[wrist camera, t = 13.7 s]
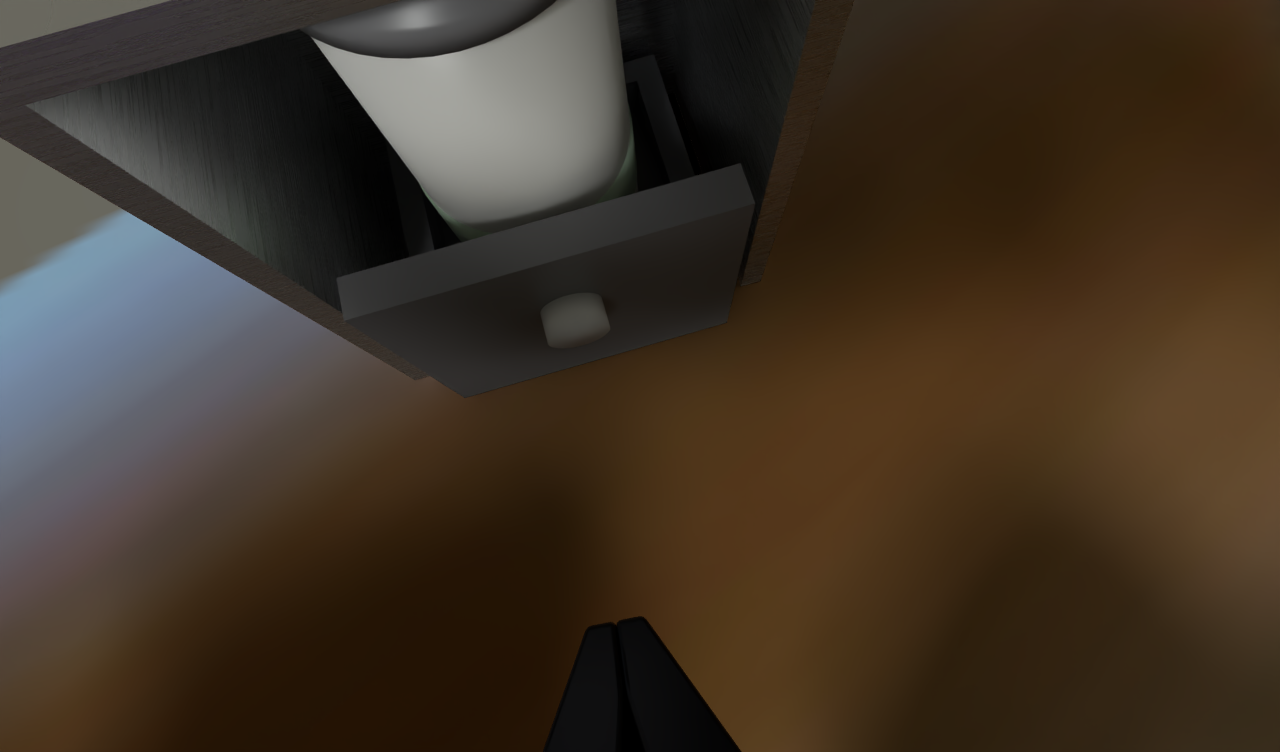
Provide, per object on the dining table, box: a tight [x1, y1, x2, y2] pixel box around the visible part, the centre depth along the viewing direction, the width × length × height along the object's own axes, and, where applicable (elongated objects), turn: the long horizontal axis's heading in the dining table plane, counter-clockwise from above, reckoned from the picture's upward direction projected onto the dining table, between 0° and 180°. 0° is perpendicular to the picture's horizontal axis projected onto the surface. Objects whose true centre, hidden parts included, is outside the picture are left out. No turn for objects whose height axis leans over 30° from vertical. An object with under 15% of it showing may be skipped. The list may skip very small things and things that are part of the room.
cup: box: [299, 0, 638, 242], centre depth 16 cm, size 6×6×12 cm
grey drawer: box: [336, 54, 755, 398], centre depth 18 cm, size 10×10×8 cm
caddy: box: [0, 0, 854, 380], centre depth 16 cm, size 9×12×15 cm
